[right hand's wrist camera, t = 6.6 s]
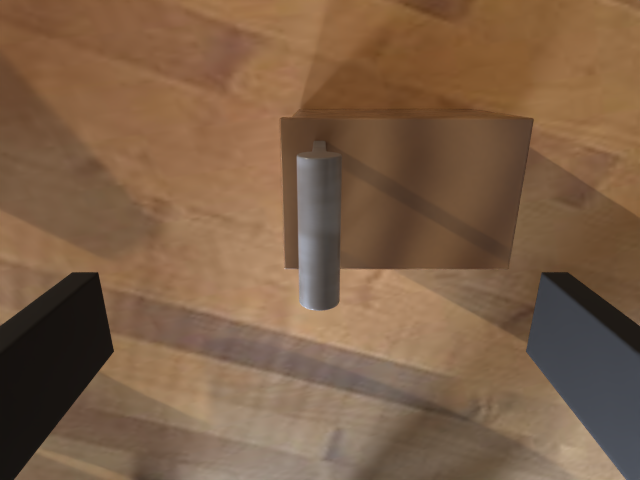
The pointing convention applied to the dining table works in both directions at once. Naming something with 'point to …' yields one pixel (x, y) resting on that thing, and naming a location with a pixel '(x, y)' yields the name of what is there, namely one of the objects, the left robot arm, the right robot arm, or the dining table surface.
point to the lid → (398, 195)
